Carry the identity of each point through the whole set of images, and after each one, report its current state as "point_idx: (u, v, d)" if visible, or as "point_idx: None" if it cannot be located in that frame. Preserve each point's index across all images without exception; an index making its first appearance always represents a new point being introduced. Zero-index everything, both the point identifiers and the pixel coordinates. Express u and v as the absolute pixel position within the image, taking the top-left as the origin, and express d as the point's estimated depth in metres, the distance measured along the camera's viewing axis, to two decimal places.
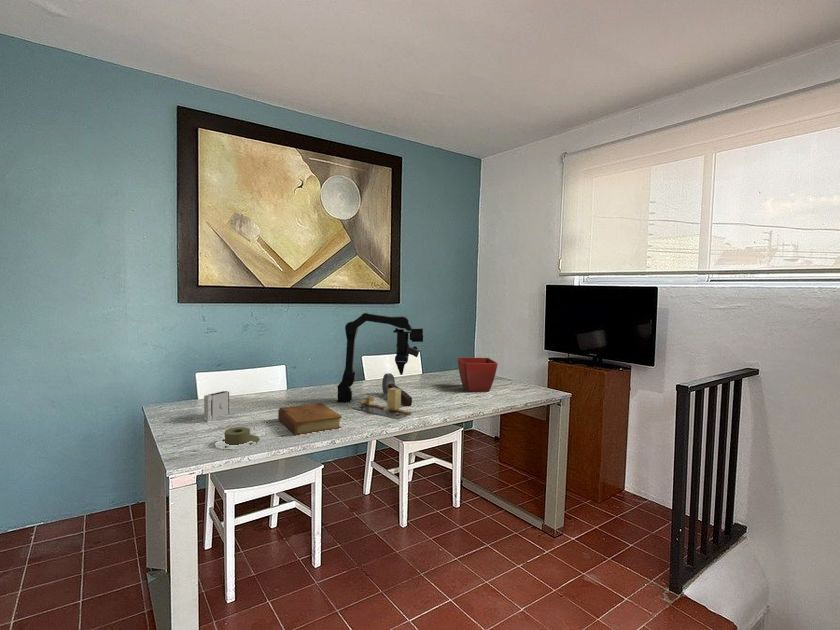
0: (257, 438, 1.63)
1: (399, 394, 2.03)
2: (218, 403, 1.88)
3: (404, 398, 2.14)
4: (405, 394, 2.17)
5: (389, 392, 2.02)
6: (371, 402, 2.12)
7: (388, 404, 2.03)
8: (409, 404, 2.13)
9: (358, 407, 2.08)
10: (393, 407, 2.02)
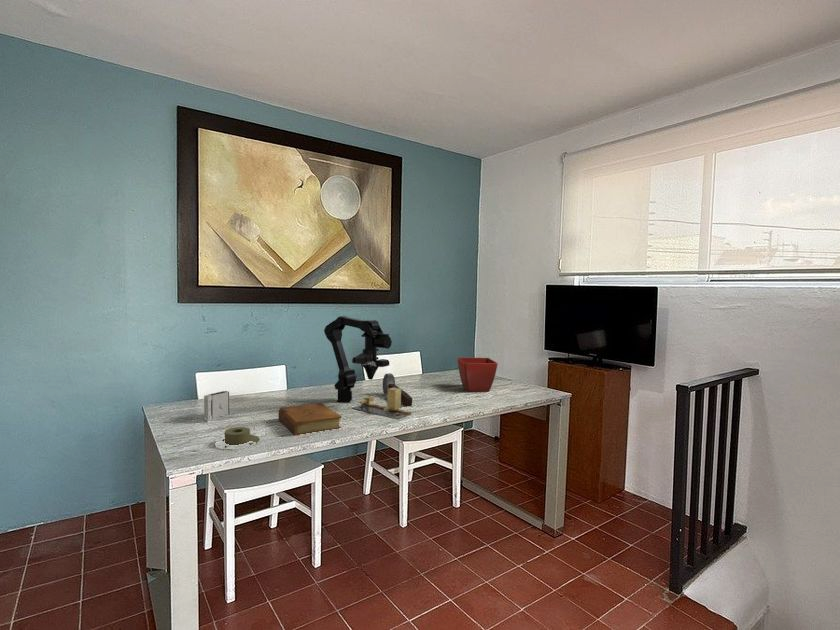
0: (257, 438, 1.63)
1: (399, 394, 2.03)
2: (218, 403, 1.88)
3: (404, 398, 2.14)
4: (405, 394, 2.17)
5: (389, 392, 2.02)
6: (371, 402, 2.12)
7: (388, 404, 2.03)
8: (409, 404, 2.13)
9: (358, 407, 2.08)
10: (393, 407, 2.02)
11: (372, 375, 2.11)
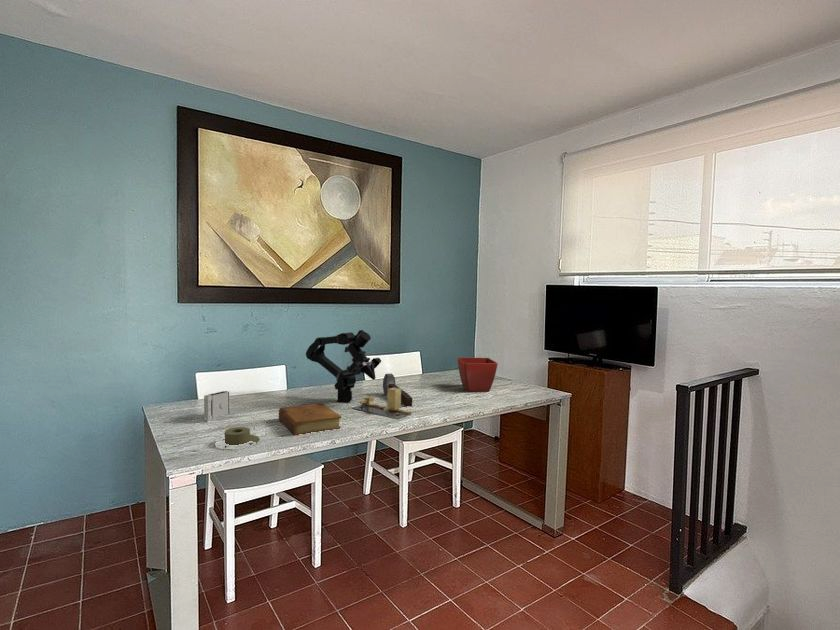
0: (257, 438, 1.63)
1: (399, 394, 2.03)
2: (218, 403, 1.88)
3: (404, 398, 2.14)
4: (406, 394, 2.17)
5: (389, 392, 2.02)
6: (371, 402, 2.12)
7: (388, 404, 2.03)
8: (409, 404, 2.13)
9: (358, 407, 2.08)
10: (393, 407, 2.02)
11: (370, 376, 2.10)
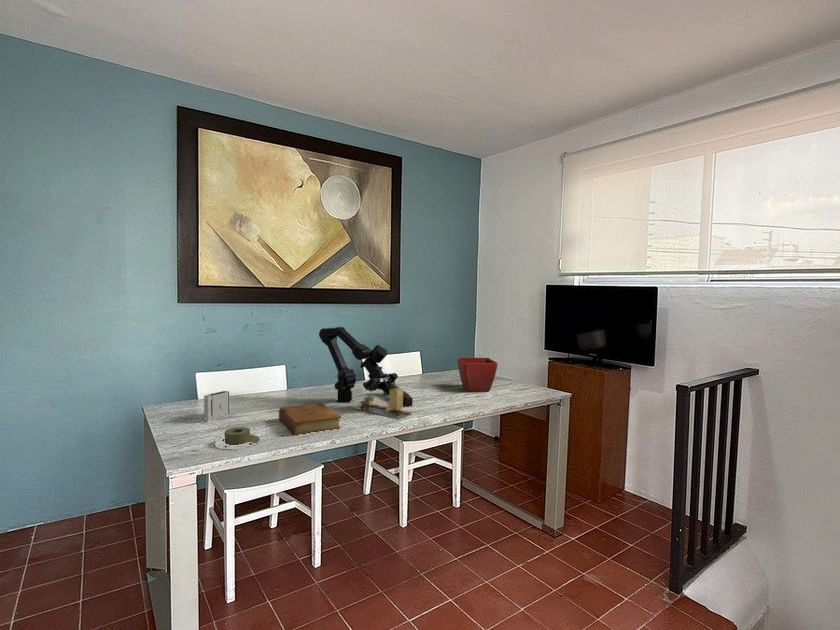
0: (257, 438, 1.62)
1: (401, 394, 2.03)
2: (218, 403, 1.88)
3: (405, 398, 2.14)
4: (406, 394, 2.17)
5: (391, 392, 2.02)
6: (371, 402, 2.12)
7: (390, 404, 2.02)
8: (410, 404, 2.13)
9: (358, 407, 2.08)
10: (395, 407, 2.01)
11: (387, 392, 2.04)
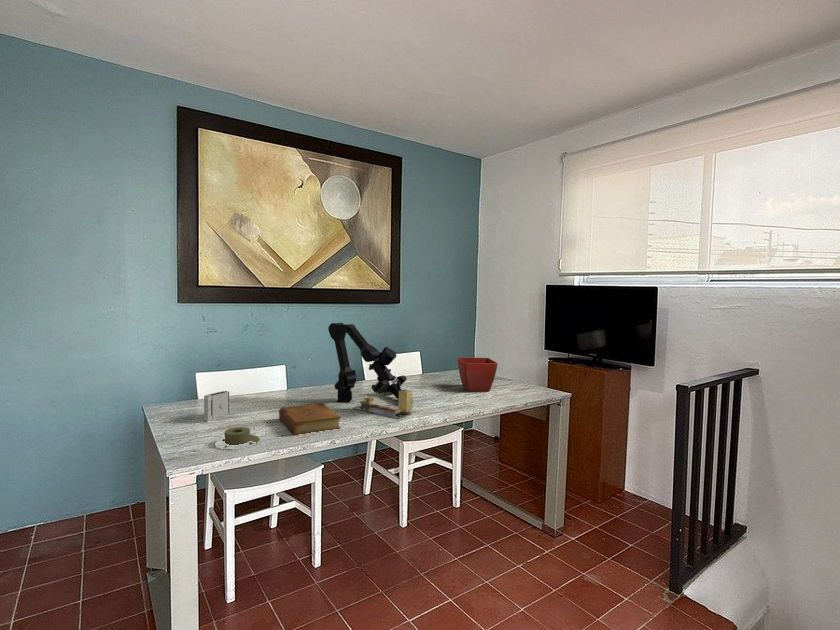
0: (257, 438, 1.62)
1: (410, 396, 2.00)
2: (218, 403, 1.88)
3: None
4: None
5: (400, 394, 1.99)
6: (371, 402, 2.12)
7: (399, 406, 2.00)
8: None
9: (358, 407, 2.08)
10: (404, 409, 1.98)
11: (397, 395, 2.02)
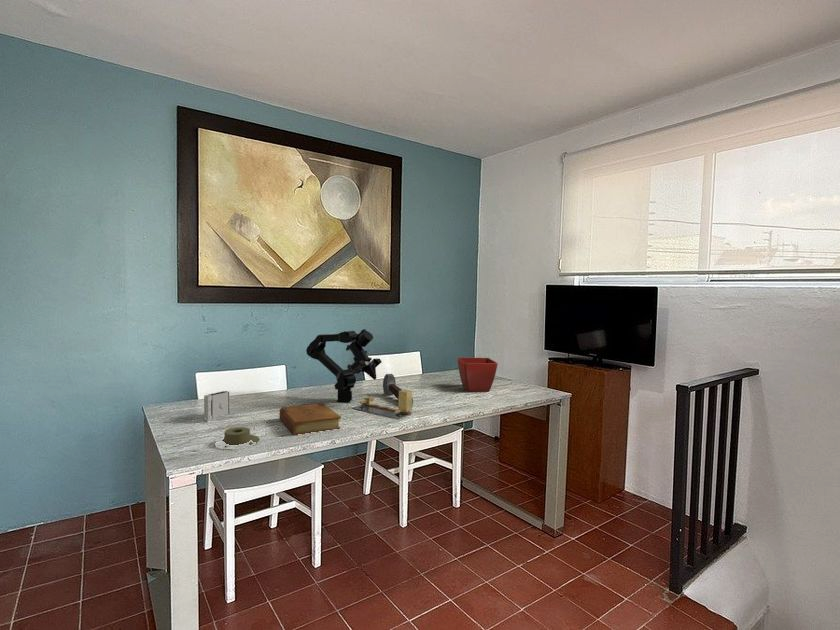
0: (257, 438, 1.62)
1: (410, 396, 2.00)
2: (218, 403, 1.88)
3: None
4: None
5: (400, 394, 1.99)
6: (371, 402, 2.12)
7: (399, 406, 2.00)
8: None
9: (358, 407, 2.08)
10: (404, 409, 1.98)
11: (371, 375, 2.10)
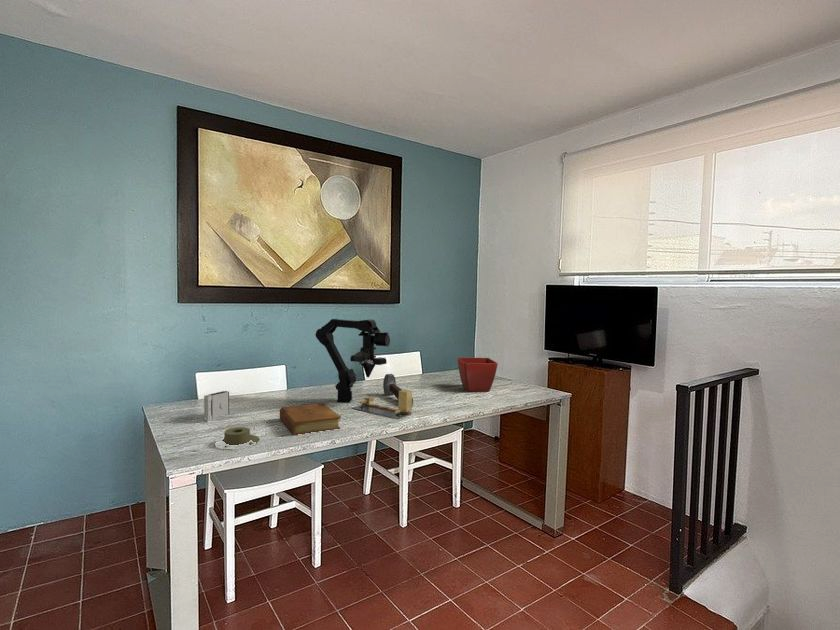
0: (257, 438, 1.62)
1: (410, 396, 2.00)
2: (218, 403, 1.88)
3: None
4: None
5: (400, 394, 1.99)
6: (371, 402, 2.12)
7: (399, 406, 2.00)
8: None
9: (358, 407, 2.08)
10: (404, 409, 1.98)
11: (369, 373, 2.16)
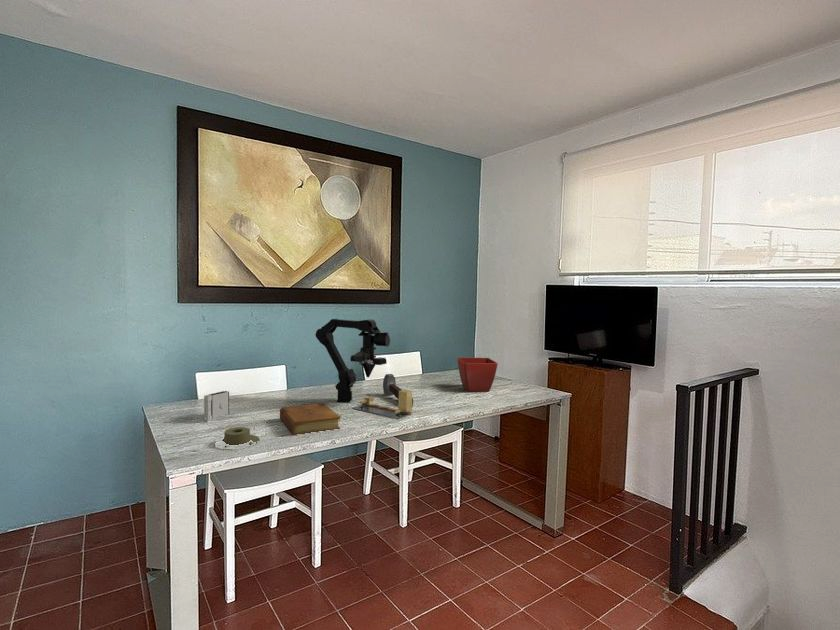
0: (257, 438, 1.62)
1: (410, 396, 2.00)
2: (218, 403, 1.88)
3: None
4: None
5: (400, 394, 1.99)
6: (371, 402, 2.12)
7: (399, 406, 2.00)
8: None
9: (358, 407, 2.08)
10: (404, 409, 1.98)
11: (369, 373, 2.16)
